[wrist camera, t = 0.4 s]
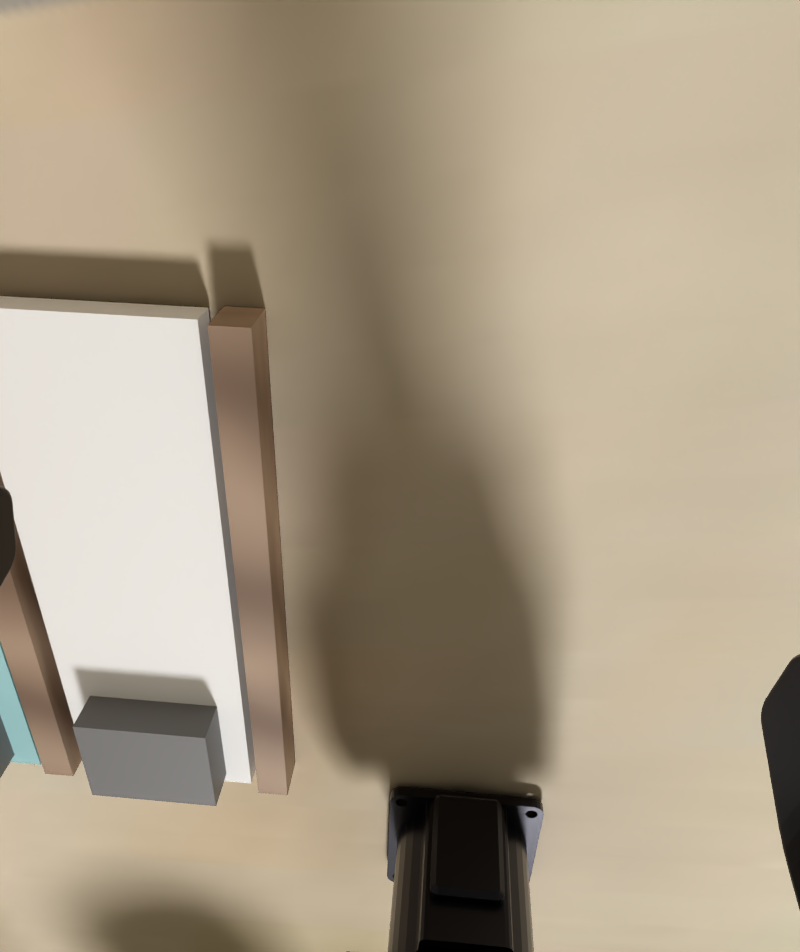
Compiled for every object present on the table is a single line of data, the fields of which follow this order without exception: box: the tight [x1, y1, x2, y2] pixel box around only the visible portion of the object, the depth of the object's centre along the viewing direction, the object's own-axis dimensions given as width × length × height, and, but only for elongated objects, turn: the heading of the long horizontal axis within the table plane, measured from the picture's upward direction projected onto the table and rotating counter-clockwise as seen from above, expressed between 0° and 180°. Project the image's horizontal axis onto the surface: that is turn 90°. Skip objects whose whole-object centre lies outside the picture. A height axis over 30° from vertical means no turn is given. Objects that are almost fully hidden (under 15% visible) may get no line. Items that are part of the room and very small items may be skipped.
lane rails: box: [0, 306, 295, 795], centre depth 27 cm, size 20×19×2 cm
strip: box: [0, 296, 256, 806], centre depth 26 cm, size 20×7×2 cm, turn 178°
